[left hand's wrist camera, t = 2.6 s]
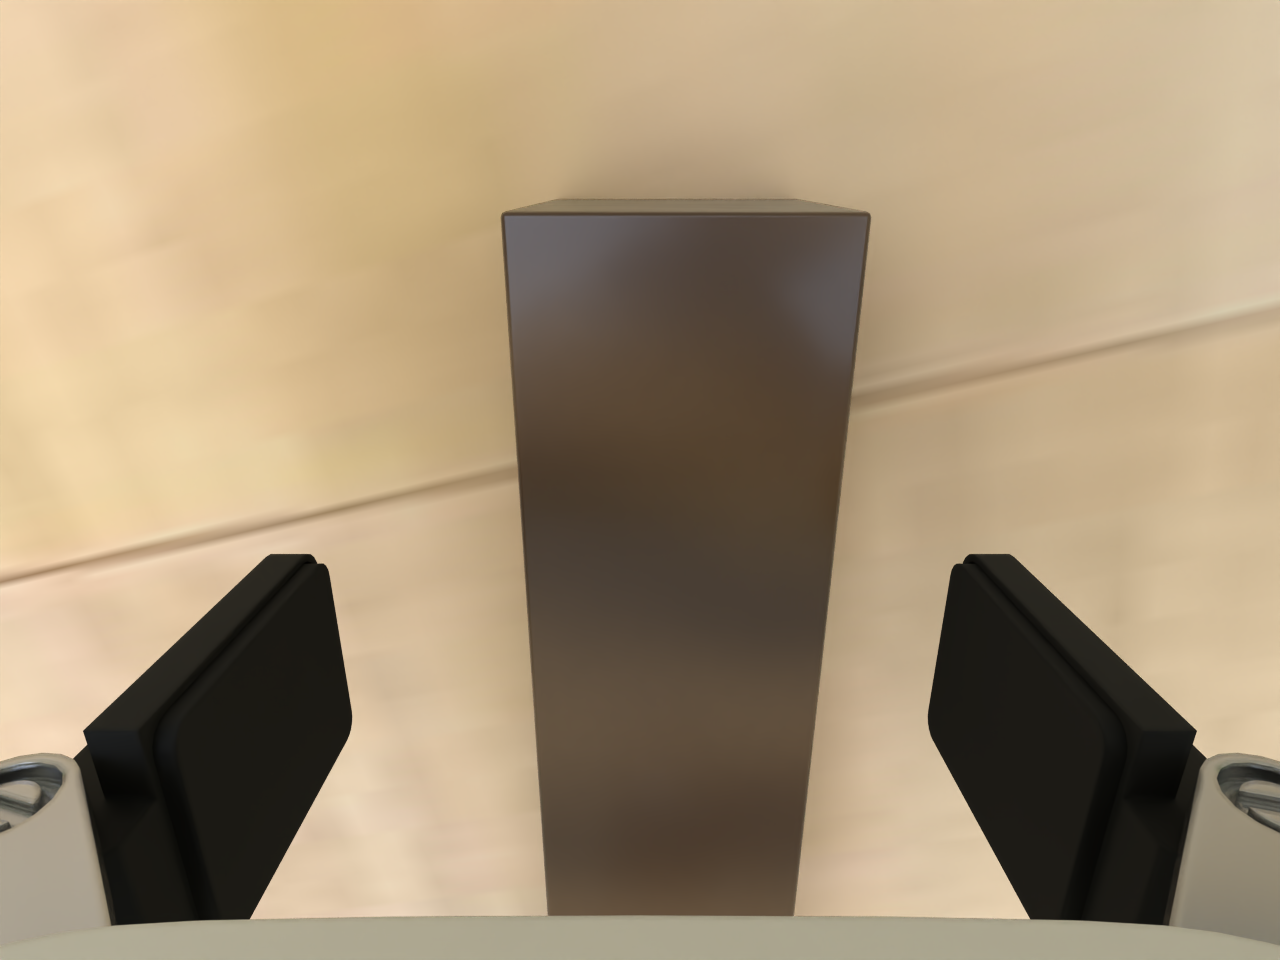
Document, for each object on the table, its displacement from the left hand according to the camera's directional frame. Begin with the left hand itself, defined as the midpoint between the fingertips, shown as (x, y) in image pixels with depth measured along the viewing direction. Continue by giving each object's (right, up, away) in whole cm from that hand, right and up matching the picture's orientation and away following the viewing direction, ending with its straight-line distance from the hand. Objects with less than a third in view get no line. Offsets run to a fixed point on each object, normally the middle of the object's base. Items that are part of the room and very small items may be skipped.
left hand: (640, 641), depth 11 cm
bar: (+1, -15, +16) cm, 22 cm away
